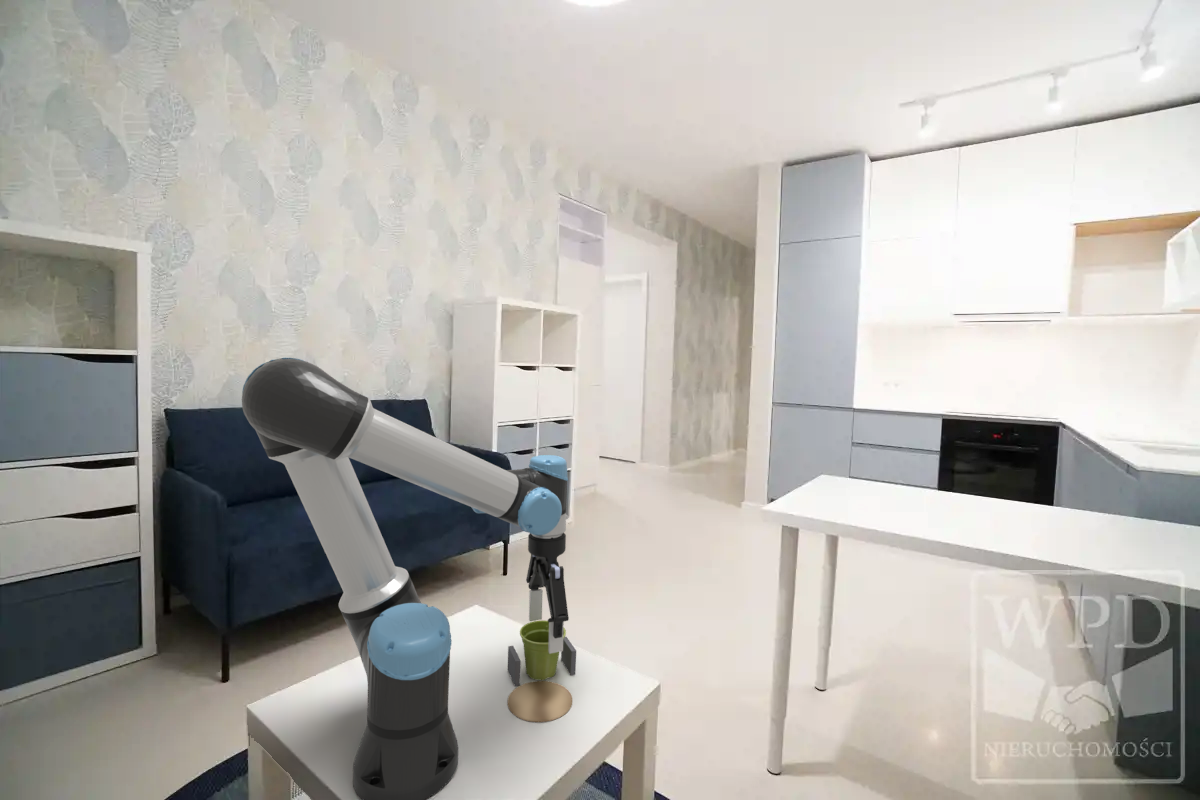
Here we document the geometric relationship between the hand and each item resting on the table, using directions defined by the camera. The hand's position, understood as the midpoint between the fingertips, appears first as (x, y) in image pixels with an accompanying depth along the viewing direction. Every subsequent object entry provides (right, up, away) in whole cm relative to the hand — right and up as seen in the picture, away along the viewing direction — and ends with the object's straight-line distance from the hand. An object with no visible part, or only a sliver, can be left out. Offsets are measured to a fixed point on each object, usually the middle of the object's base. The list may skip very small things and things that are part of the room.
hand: (544, 634), depth 109 cm
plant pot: (-1, -8, 0) cm, 8 cm away
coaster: (0, -8, -9) cm, 12 cm away
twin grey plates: (-1, -8, 0) cm, 8 cm away
